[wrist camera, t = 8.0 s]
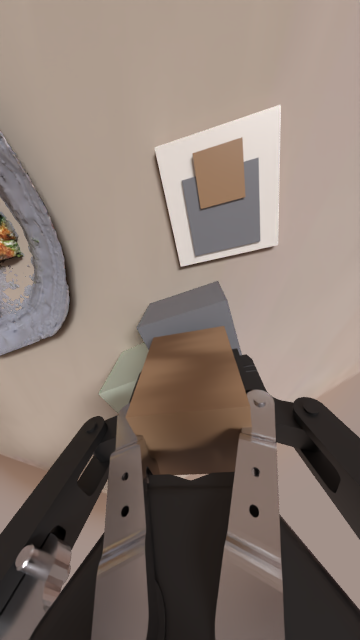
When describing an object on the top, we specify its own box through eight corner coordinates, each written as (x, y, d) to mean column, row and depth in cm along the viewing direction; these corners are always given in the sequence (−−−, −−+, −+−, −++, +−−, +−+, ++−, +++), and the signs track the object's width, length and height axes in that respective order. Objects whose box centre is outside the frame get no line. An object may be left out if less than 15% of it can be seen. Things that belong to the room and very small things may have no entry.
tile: (181, 265, 16) (180, 267, 15) (155, 150, 12) (153, 145, 12) (275, 244, 15) (280, 245, 14) (277, 109, 11) (283, 100, 10)
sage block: (145, 379, 23) (130, 425, 18) (122, 351, 21) (98, 394, 16) (179, 367, 22) (174, 413, 16) (157, 336, 20) (145, 376, 14)
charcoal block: (175, 355, 21) (170, 389, 16) (150, 303, 18) (136, 327, 14) (234, 340, 19) (246, 373, 15) (217, 280, 16) (227, 299, 12)
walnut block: (170, 386, 15) (158, 475, 10) (153, 337, 13) (125, 417, 7) (231, 379, 14) (255, 472, 9) (224, 325, 12) (250, 406, 7)
